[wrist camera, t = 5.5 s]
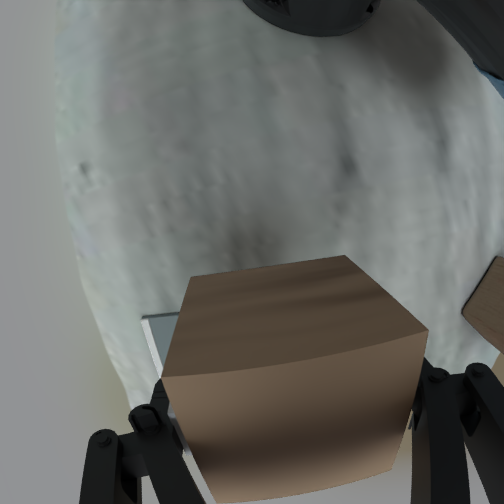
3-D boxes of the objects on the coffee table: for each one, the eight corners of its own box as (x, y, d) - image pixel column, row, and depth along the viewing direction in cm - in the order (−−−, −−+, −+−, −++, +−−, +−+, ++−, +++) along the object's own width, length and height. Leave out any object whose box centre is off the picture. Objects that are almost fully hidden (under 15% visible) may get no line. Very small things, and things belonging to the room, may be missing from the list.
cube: (190, 276, 16) (160, 377, 8) (344, 254, 16) (428, 330, 8) (218, 394, 18) (216, 503, 10) (343, 374, 18) (391, 469, 10)
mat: (142, 316, 31) (140, 320, 30) (265, 301, 31) (266, 305, 30) (172, 405, 35) (172, 410, 34) (276, 394, 35) (277, 399, 34)
